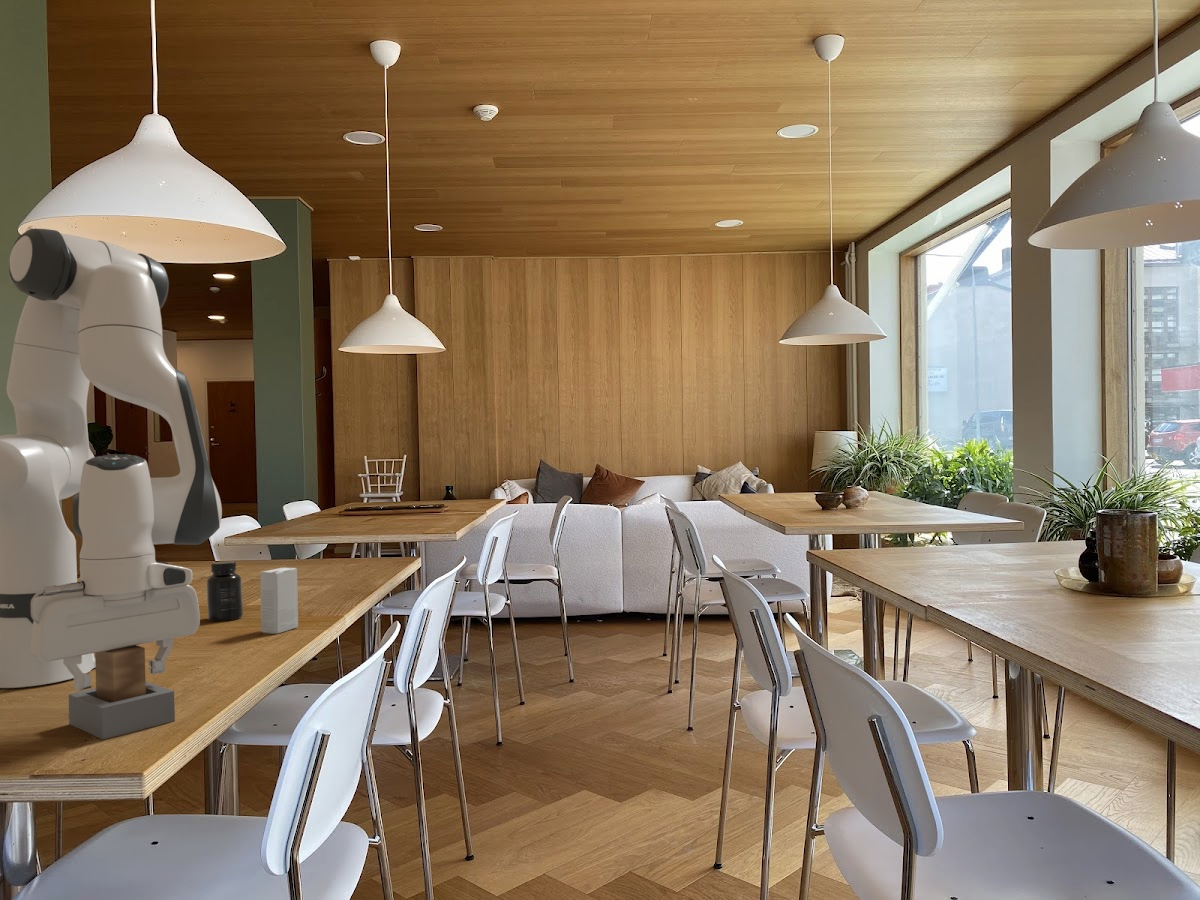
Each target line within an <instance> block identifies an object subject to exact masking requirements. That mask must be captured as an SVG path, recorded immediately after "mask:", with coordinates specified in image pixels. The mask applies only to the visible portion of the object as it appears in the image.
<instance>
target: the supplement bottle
mask: <svg viewBox="0 0 1200 900" xmlns="http://www.w3.org/2000/svg"><path fill="white" fill-rule="evenodd" d="M236 564H237V562H236V561H235V560H234V561H233V560H229V561H228V560H225V561H216V562H211V565H210V566H211V567H210V568H211V570H210V572H211V573H212V575H210V576H209V577H208V578H207V580H206V596H207V597H206V598H207V599H206V600H207V619H208V620H209V621H211V622H226V621H229V622H230V621H233V620H234V621H235V620H239V619H241V618H242V617H243V608H244V607H243V589H242V588H243V586H242V585H243V583H242V577H241V575H240V574H238V573H236V571H237V565H236Z"/></svg>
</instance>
